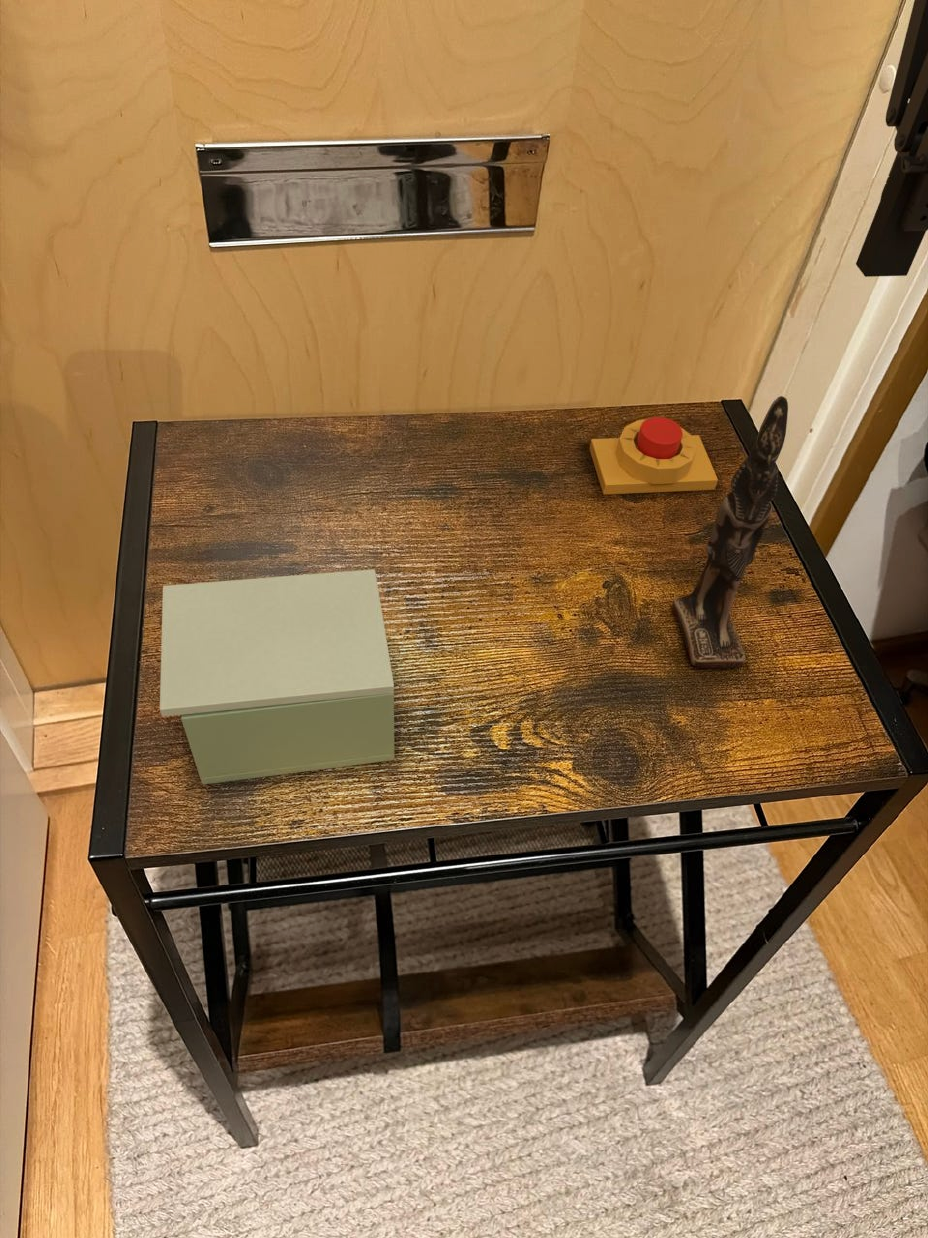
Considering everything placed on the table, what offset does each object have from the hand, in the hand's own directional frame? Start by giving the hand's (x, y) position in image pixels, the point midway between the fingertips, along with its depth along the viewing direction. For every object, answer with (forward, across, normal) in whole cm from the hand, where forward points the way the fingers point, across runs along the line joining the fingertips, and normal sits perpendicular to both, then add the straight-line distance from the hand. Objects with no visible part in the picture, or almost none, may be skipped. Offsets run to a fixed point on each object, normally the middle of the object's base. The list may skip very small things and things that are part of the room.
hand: (881, 269), depth 58 cm
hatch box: (+25, +12, -38) cm, 47 cm away
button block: (+25, -11, -7) cm, 28 cm away
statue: (+26, +8, -7) cm, 28 cm away
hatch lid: (+17, +12, -39) cm, 44 cm away
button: (+23, -11, -7) cm, 26 cm away
